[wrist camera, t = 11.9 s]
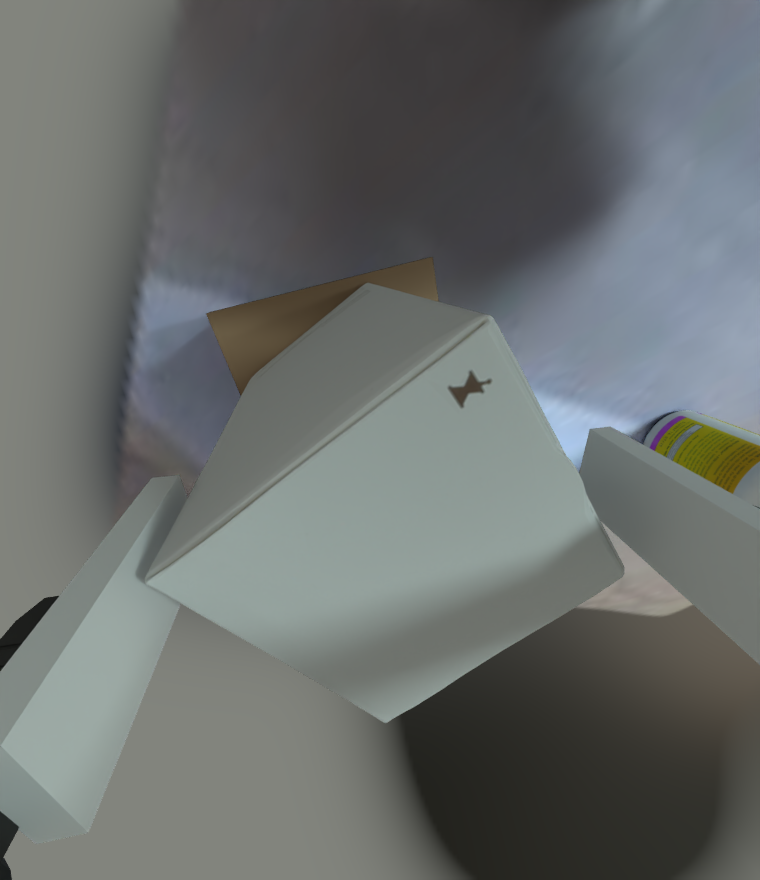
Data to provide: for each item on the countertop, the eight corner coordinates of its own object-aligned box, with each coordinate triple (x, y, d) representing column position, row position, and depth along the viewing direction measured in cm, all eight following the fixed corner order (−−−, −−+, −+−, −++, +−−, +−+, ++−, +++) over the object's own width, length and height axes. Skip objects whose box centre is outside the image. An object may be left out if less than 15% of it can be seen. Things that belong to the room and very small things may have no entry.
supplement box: (243, 379, 20) (114, 585, 7) (368, 278, 19) (500, 292, 6) (342, 481, 24) (381, 737, 11) (450, 402, 23) (640, 578, 10)
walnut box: (229, 304, 24) (206, 313, 19) (406, 260, 25) (432, 256, 19) (289, 459, 29) (285, 501, 24) (432, 419, 30) (458, 451, 25)
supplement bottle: (630, 471, 37) (774, 561, 25) (649, 411, 34) (821, 482, 23) (686, 464, 38) (849, 547, 26) (709, 404, 35) (903, 469, 24)
